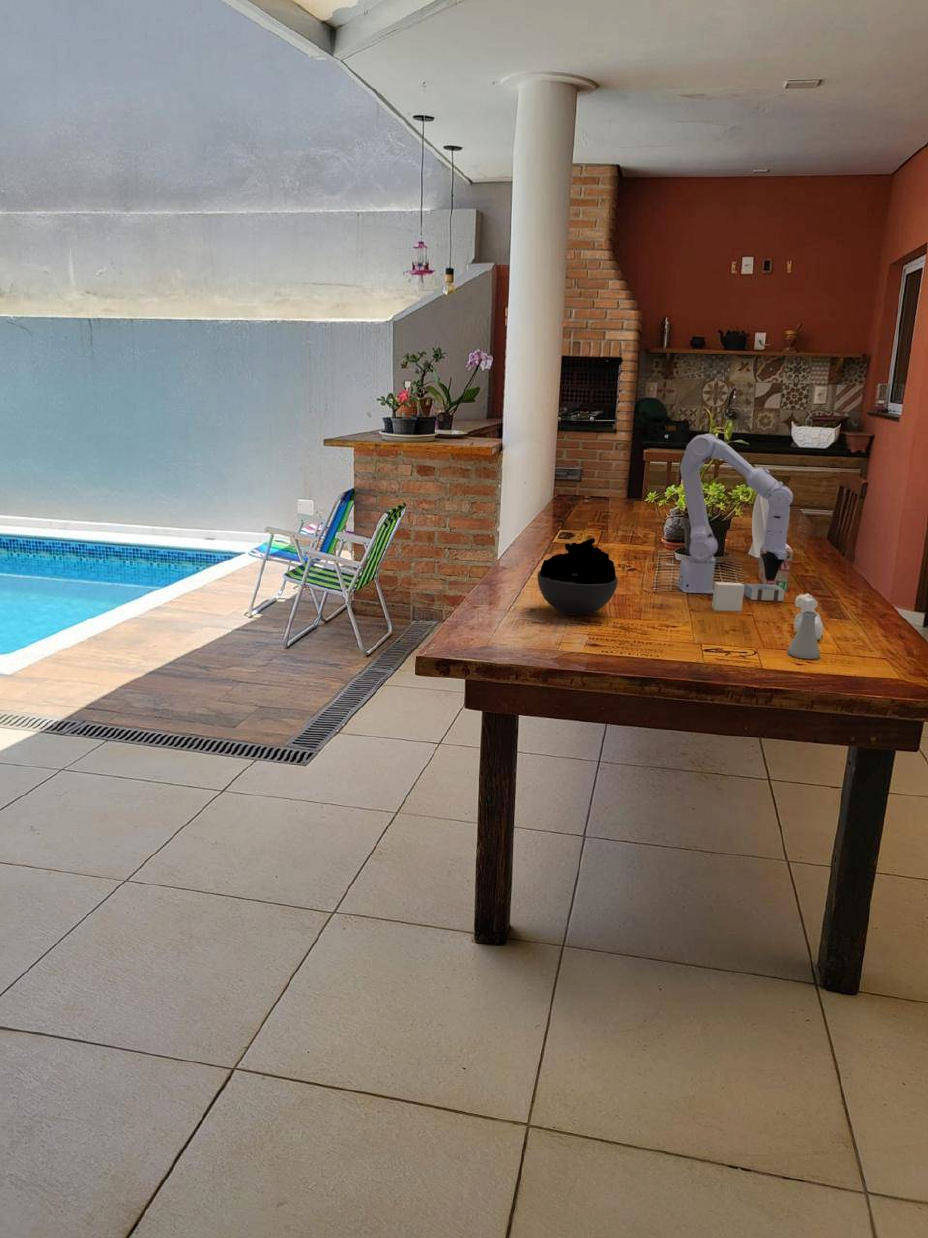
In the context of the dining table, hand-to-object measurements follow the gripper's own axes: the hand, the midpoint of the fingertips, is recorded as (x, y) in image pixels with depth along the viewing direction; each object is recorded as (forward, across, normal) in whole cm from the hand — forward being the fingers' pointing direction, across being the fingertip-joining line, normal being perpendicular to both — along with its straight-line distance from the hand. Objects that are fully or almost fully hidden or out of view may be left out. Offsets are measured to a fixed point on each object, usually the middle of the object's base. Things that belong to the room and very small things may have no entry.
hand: (769, 579), depth 259 cm
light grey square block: (+6, -12, +15) cm, 20 cm away
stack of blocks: (+6, +24, -9) cm, 26 cm away
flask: (+6, -52, +9) cm, 54 cm away
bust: (+6, -36, +2) cm, 36 cm away
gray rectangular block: (+4, 0, 0) cm, 4 cm away
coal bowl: (+6, -24, +57) cm, 62 cm away
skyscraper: (+6, +66, -19) cm, 69 cm away
